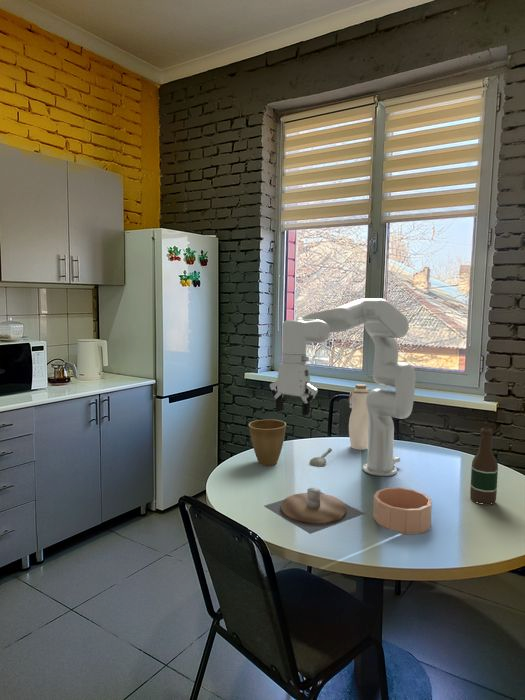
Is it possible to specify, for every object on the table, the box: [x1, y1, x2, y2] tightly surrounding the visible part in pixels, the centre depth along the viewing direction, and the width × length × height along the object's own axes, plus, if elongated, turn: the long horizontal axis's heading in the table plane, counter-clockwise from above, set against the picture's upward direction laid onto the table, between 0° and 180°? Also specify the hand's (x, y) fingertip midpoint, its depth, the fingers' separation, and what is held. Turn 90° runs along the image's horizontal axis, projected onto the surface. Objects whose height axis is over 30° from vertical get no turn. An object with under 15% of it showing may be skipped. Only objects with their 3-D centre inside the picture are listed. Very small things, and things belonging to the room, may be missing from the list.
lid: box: [281, 487, 347, 524], centre depth 148 cm, size 20×20×6 cm
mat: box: [264, 491, 366, 535], centre depth 148 cm, size 22×22×1 cm
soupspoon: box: [309, 447, 333, 468], centre depth 198 cm, size 22×3×7 cm
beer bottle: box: [469, 427, 499, 504], centre depth 156 cm, size 8×8×24 cm
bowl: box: [372, 487, 433, 535], centre depth 142 cm, size 16×16×7 cm
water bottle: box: [348, 383, 371, 451], centre depth 211 cm, size 10×9×28 cm
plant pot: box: [248, 419, 287, 467], centre depth 192 cm, size 15×15×16 cm
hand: (292, 412), depth 153 cm, fingers open, 9 cm apart
